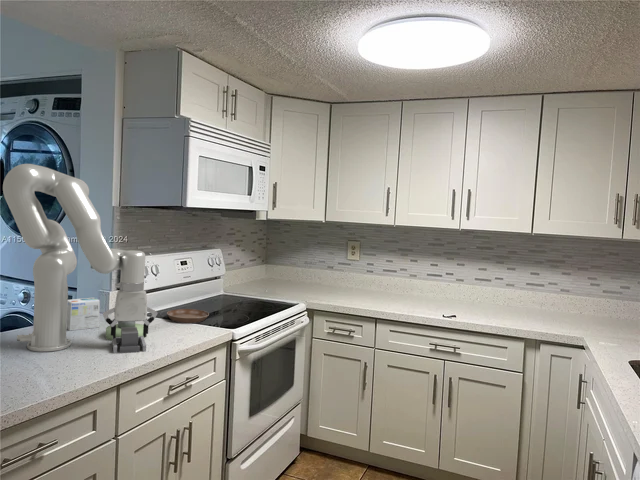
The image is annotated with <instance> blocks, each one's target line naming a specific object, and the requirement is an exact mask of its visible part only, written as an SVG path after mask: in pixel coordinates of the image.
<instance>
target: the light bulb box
mask: <svg viewBox="0 0 640 480" xmlns="http://www.w3.org/2000/svg"><path fill="white" fill-rule="evenodd" d="M100 300H101V299H98V298H96V297H88V298H87V297H85V298H73V299H71V298H70V299H68V306H67V331H70V332H71V330H72V331H79V330H87V329H95V328H99V327H100V306H101V305H100V304H101V301H100Z"/></svg>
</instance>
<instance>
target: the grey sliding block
mask: <svg viewBox="0 0 640 480" xmlns="http://www.w3.org/2000/svg"><path fill="white" fill-rule="evenodd" d="M140 347H141V345H139V343H138V330H137V327H121V340H120V345H119V354H131V353H134V354H135V353H140V352H141V351H140V349H141V348H140Z"/></svg>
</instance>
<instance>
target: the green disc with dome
mask: <svg viewBox="0 0 640 480" xmlns="http://www.w3.org/2000/svg"><path fill="white" fill-rule="evenodd" d="M143 325H144V324H141V323H136V321H129V322H119V321H118V322H117V324H116V338H114V339H113V335H111V326H110V325H107V326H106V327H105V339H107V340H109V341H112V342H111V343H112V351H113V354H117V353H118V345H119V344H120V340H121V327H137V330H138V344H140V347H141V349H142V350H141V351H142V352H147V344H146V343H147V342H146V340H145V338H146V337H147V336H148V334H146V337H144V336H143Z"/></svg>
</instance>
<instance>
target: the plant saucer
mask: <svg viewBox="0 0 640 480" xmlns="http://www.w3.org/2000/svg"><path fill="white" fill-rule="evenodd" d="M166 315H167V317H168V318H169V319H170V320H171V321H173V322H176V323H179V324H181V323H182V324H196V323H201V322H202V323H203V322H204V321H205V320H206V319H207V318H208V317H209V315H210V313H209V312H208V311H206V310H201V309H195V308H178V309H171V310H168V311H167V312H166Z"/></svg>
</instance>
